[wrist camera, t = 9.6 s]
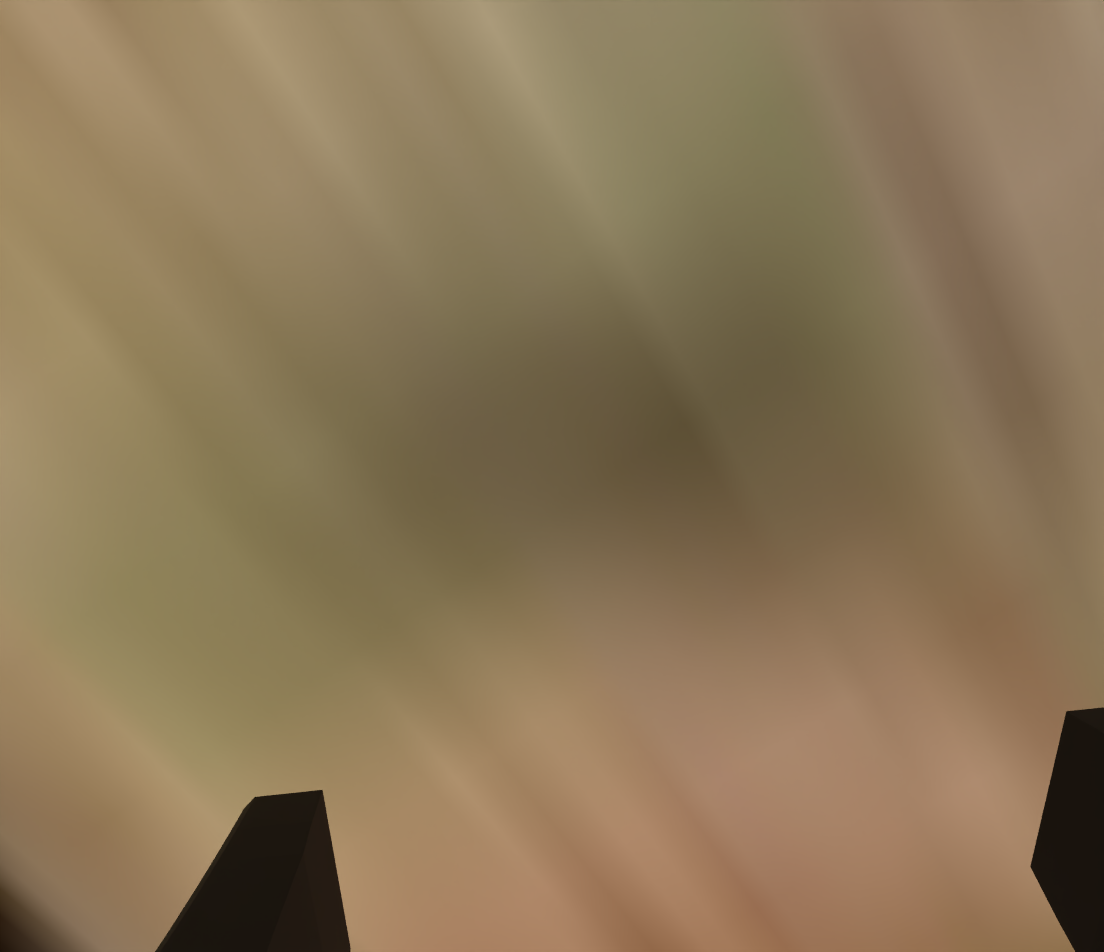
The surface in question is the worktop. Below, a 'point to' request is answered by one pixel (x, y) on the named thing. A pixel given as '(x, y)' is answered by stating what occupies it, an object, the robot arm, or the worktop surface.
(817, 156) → the worktop surface
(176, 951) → the robot arm
